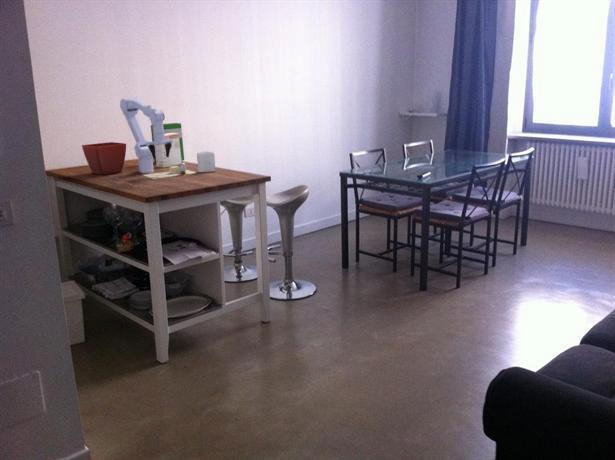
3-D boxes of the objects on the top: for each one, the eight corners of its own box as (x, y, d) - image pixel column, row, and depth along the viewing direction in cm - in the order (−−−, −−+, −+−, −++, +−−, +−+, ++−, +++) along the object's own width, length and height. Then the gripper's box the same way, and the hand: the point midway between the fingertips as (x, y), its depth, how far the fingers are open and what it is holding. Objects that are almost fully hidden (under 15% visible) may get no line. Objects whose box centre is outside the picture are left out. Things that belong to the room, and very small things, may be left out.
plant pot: (114, 169, 369) (111, 141, 364) (130, 172, 355) (126, 143, 351) (84, 173, 356) (81, 145, 351) (99, 176, 342) (95, 147, 338)
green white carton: (158, 163, 385) (155, 125, 379) (154, 162, 391) (150, 125, 385) (184, 160, 395) (181, 123, 389) (179, 159, 401) (176, 122, 395)
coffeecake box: (174, 163, 383) (171, 132, 378) (182, 164, 379) (179, 132, 374) (156, 166, 371) (152, 135, 366) (163, 167, 367) (160, 135, 362)
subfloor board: (141, 176, 338) (141, 174, 338) (185, 170, 352) (185, 169, 351) (153, 180, 323) (152, 178, 323) (197, 174, 337) (197, 172, 337)
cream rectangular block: (169, 172, 341) (169, 166, 340) (183, 171, 345) (182, 164, 344) (173, 173, 337) (172, 167, 336) (186, 172, 341) (185, 165, 340)
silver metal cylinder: (179, 174, 335) (178, 163, 334) (184, 173, 337) (183, 162, 335) (181, 174, 333) (180, 163, 332) (186, 173, 335) (185, 163, 333)
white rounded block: (213, 170, 348) (211, 149, 345) (216, 171, 345) (215, 149, 342) (197, 172, 343) (195, 151, 339) (200, 173, 339) (198, 151, 336)
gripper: (148, 134, 325) (150, 159, 329) (173, 132, 333) (176, 157, 336) (143, 134, 331) (146, 158, 334) (169, 131, 339) (171, 155, 342)
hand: (161, 157), depth 336 cm, fingers open, 7 cm apart
